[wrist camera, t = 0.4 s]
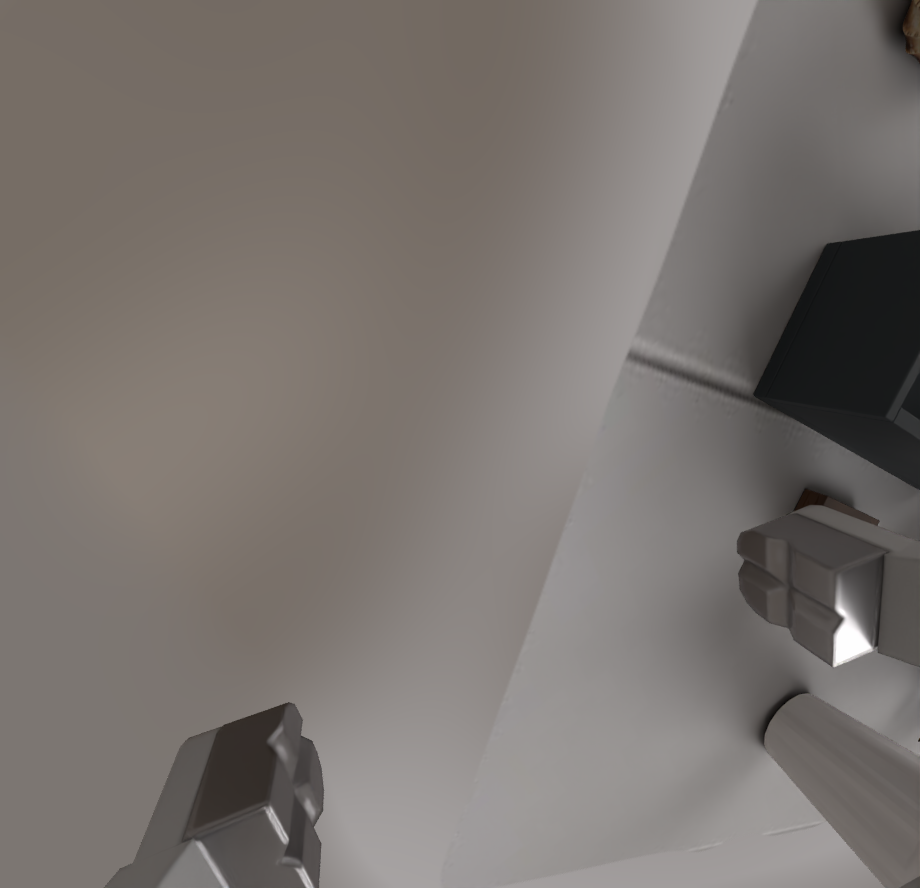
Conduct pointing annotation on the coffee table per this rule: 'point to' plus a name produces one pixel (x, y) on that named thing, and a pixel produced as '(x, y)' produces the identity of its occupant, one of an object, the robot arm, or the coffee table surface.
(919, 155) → the coffee table surface
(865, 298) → the brush case
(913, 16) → the seashell
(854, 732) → the cup
